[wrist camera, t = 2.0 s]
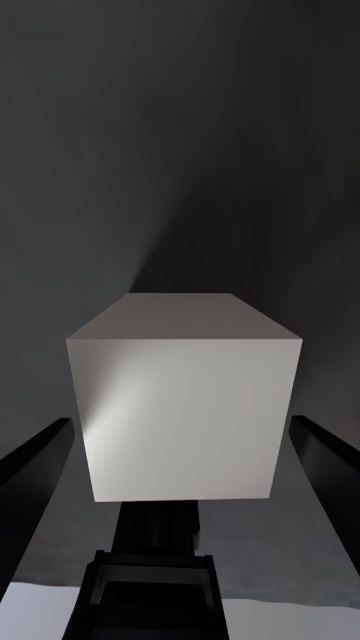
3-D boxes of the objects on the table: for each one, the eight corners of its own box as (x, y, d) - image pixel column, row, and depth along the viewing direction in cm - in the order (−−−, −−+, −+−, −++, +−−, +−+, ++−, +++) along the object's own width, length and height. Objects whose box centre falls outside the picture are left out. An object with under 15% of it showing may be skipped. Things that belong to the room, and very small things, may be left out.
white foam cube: (134, 381, 17) (95, 501, 9) (128, 292, 15) (65, 339, 6) (222, 380, 17) (268, 498, 9) (230, 293, 15) (302, 339, 6)
